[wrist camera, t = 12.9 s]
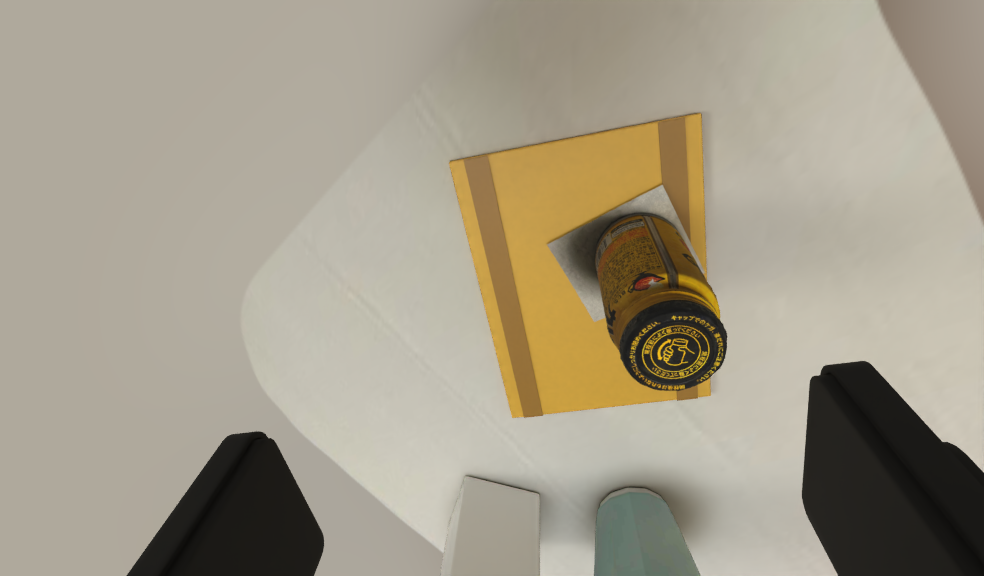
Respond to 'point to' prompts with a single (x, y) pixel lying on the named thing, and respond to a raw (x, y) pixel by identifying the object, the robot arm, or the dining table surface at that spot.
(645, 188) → the towel
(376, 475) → the dining table surface
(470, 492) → the milk carton
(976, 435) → the dining table surface
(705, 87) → the dining table surface
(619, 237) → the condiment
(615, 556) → the disposable coffee cup
